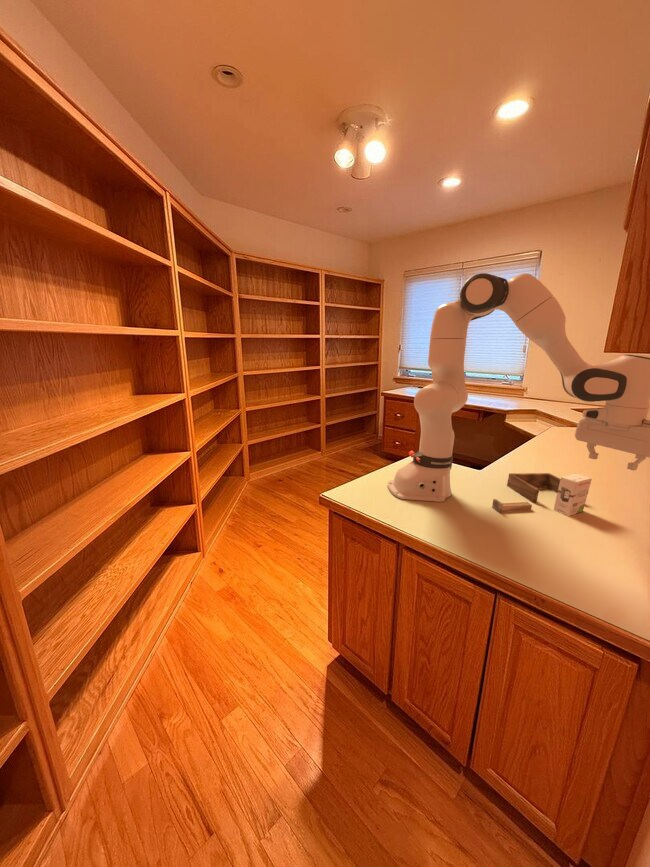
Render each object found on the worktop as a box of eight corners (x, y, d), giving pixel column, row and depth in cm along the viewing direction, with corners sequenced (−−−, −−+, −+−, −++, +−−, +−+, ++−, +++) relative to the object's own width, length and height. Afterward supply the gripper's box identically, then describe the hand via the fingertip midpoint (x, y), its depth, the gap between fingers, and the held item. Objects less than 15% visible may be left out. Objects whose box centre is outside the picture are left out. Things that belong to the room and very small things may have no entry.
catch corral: (533, 502, 111) (536, 489, 110) (506, 485, 125) (509, 473, 123) (577, 502, 113) (580, 488, 111) (546, 485, 126) (549, 473, 125)
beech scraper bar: (532, 511, 105) (534, 502, 104) (499, 513, 103) (500, 504, 102) (524, 506, 109) (526, 497, 108) (491, 508, 107) (493, 499, 106)
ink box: (567, 504, 110) (575, 472, 107) (583, 511, 106) (592, 477, 103) (552, 509, 107) (560, 476, 104) (569, 516, 102) (577, 482, 99)
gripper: (681, 423, 81) (665, 475, 84) (590, 409, 99) (580, 452, 102) (668, 425, 78) (652, 478, 82) (577, 410, 97) (567, 454, 100)
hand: (611, 463), depth 92 cm, fingers open, 8 cm apart
